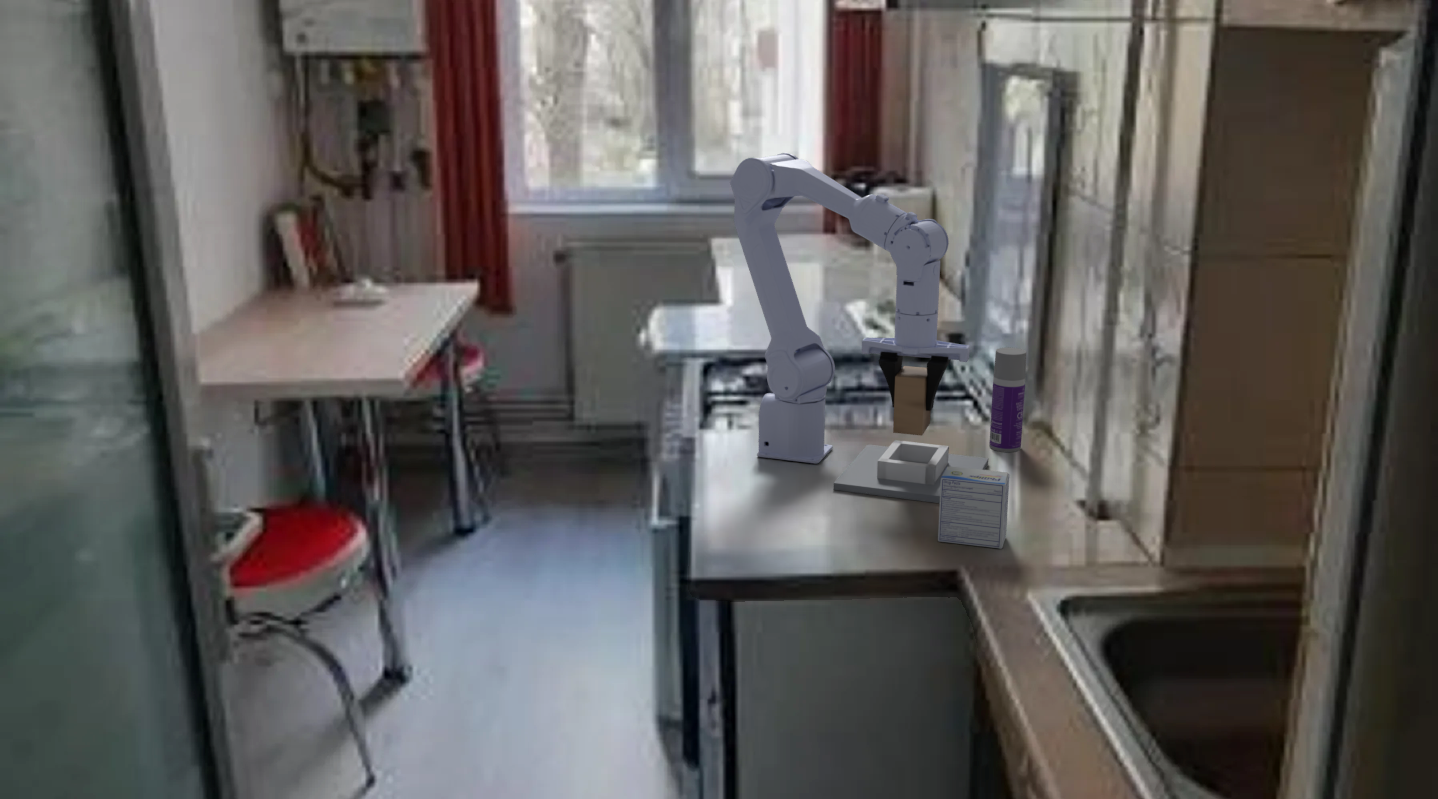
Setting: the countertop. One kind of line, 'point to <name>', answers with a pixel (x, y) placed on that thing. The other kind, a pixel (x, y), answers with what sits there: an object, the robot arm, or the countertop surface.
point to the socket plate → (903, 470)
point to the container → (1008, 399)
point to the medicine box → (973, 507)
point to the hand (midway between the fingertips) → (912, 407)
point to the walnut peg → (911, 401)
